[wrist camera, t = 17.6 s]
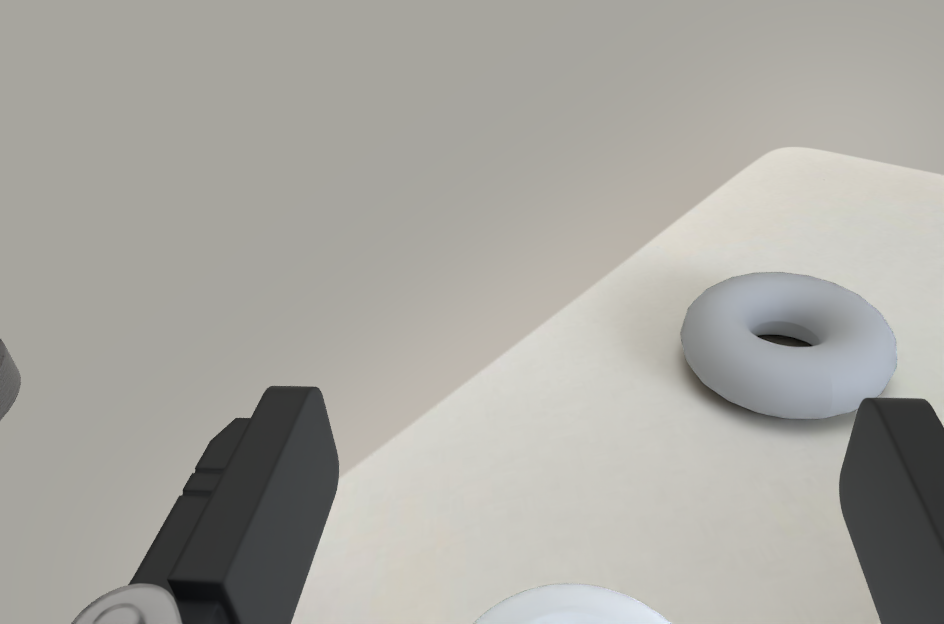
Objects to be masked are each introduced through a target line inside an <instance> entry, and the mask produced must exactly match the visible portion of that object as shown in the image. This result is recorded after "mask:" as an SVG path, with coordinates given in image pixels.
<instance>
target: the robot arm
mask: <svg viewBox="0 0 944 624" xmlns="http://www.w3.org/2000/svg"><path fill="white" fill-rule="evenodd" d="M338 478H339V461H338V454H337V450H336V446H335V442H334V439H333V434H332V431H331V426H330V422H329V419H328V415H327V411H326V407H325V403H324V399H323V395H322V393H321V391H320V390H319V388H317V387H301V386H299V387H298V386H271V387H269V388H267V390H266V391H265V392H264V394H263V396H262V398H261V400H260V401H259V403H258V405H257V407H256V409H255V411H254V413H253V415H252V417H251V418H235V419H234V420H233V421H232V422H231V423H230V424H229V425H228V426H227V427H225V428H224V429H223V430H222V431H221V432H220V433H219V434H218V435H216V436H215V437H214V438H213V439H212V440H211V441H210V443H209V444H208V446H207V448H206V450H205V452H204V453H203V455H202V457H201V458H200V460H199V462H198V464H197V466H196V468H195V473H192V475H191V476H190V478H189V480H188V481H187V483H186V485H185V487H184V488H183V495H182V496H179V497H178V499H177V501H176V503H175V504H174V506H173V508H172V510H171V512H170V513H169V515H168V517H167V519H166V520H165V522H164V524H163V526H162V527H161V529H160V531H159V533H158V534H157V536H156V538H155V540H154V541H153V543H152V545H151V547H150V549H149V550H148V552H147V554H146V556H145V558H144V559H143V561H142V563H141V564H140V566H139V568H138V570H137V572H136V573H135V575H134V577H133V578H132V580H131V581H130V583H129V584H128V586H123V587H120V588H117V589H115V590H112V591H110V592H108V593H106V594H105V595H103V596H101V597H99V598H98V599H96V600H95V601H94V602H92V603H91V604H90V605H88V606H87V607H86V608H85V609H84V610H83V611H82V612H81V613H80V614H79V615H78V616H77V617H76V618H75V620H74V621H73V622H72V623H71V624H291V621H292V618H293V616H294V613H295V610H296V607H297V604H298V601H299V598H300V595H301V593H302V590H303V587H304V584H305V581H306V578H307V575H308V572H309V570H310V567H311V564H312V561H313V558H314V555H315V552H316V549H317V547H318V544H319V541H320V538H321V535H322V532H323V529H324V526H325V524H326V521H327V518H328V515H329V512H330V509H331V506H332V503H333V500H334V498H335V494H336V491H337V486H338ZM839 494H840V504H841V509H842V513H843V517H844V520H845V522H846V525H847V528H848V531H849V534H850V537H851V539H852V542H853V545H854V548H855V551H856V553H857V556H858V559H859V562H860V565H861V567H862V570H863V573H864V576H865V579H866V582H867V584H868V587H869V590H870V593H871V596H872V598H873V601H874V604H875V607H876V610H877V613H878V615H879V618H880V621H881V624H944V427H943V426H942V424H941V422H940V420H939V418H938V417H937V415H936V413H935V411H934V409H933V408H932V406H931V405H930V403H929V402H928V401H926V400H925V399H915V398H865V399H863V400H862V402H861V403H860V405H859V408H858V412H857V415H856V419H855V422H854V426H853V429H852V433H851V437H850V440H849V444H848V447H847V451H846V455H845V458H844V462H843V465H842V469H841V473H840V481H839Z"/></svg>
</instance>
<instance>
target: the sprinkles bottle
mask: <svg viewBox="0 0 944 624" xmlns="http://www.w3.org/2000/svg"><path fill="white" fill-rule="evenodd" d="M473 624H671V623H670V622H669V621H668V620H667V619H665V618H664V617H663V616H662V615H661V614H659V613H658V612H656V611H654V610H653V609H651V608H650V607H648V606H647V605H645V604H644V603H642V602H640V601H638V600H636V599H634V598H632V597H629V596H627V595H625V594H623V593H619V592H616V591H613V590H610V589H607V588H603V587H599V586H594V585H587V584H572V583H563V584H553V585H546V586H541V587H537V588H533V589H529V590H526V591H523V592H520V593H518V594H516V595H514V596H511V597H509V598H507V599H505V600H503V601H502V602H500V603H498V604H497V605H495V606H494V607H492V608H491V609H489V610H488V611H486V612H485V613H484V614H483V615H482V616H481V617H480V618H479V619H478V620H476V621H475V622H474V623H473Z"/></svg>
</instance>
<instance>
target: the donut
mask: <svg viewBox="0 0 944 624" xmlns="http://www.w3.org/2000/svg"><path fill="white" fill-rule="evenodd" d="M680 333H681V341H682V346H683V350H684V354H685V358H686V360H687V362H688V364H689V366H690V367H691V368H692V369H693V371H694V372H695V373H696V375H697V376H698V377H699V378H700V380H701V381H702V382H703V384H705V385H706V386H708V387H709V388H711V389H712V390H713V391H715V392H716V393H718V394H719V395H721V396H722V397H723V398H725V399H726V400H728V401H730V402H732V403H734V404H737V405H739V406H742V407H744V408H747V409H749V410H752V411H754V412H756V413H761V414H766V415H771V416H776V417H781V418H786V419H822V418H828V417H832V416H836V415H840V414H845V413H849V412H853V411H855V410H856V409H858V408H859V405H860V403H861V402H862V400H863V399H865V398H876V397H877V396H879V395H880V394H881V393H882V391H883V390H884V388H885V387H886V385H887V383H888V382H889V380H890V378H891V377H892V375H893V373H894V372H895V370H896V367H897V349H896V339H895V336H894V333H893V331H892V330H891V328H890V326H889V325H888V323H887V322H886V320H885V319H884V317H883V315H882V314H881V313H880V312H879V311H878V310H877V309H876V308H874V307H873V306H872V305H871V304H869V303H868V302H867V301H866V300H864V299H863V298H862V297H861V296H859V295H858V294H856V293H854V292H852V291H850V290H848V289H846V288H844V287H842V286H839V285H837V284H835V283H832V282H829V281H825V280H822V279H818V278H815V277H811V276H807V275H799V274H792V273H784V272H765V273H751V274H746V275H741V276H736V277H731V278H729V279H727V280H725V281H723V282H720V283H718V284H716V285H714V286H712V287H710V288H708V289H706V290H705V291H704V292H703V293H702V294H701V295H700V296H699V297H698V298H697V299H696V300H695V301H694V302H693V303H692V304H691V305H690V307H689V308H688V310H687V313H686V316H685V319H684V323H683V326H682V329H681V332H680ZM759 335H783V336H789V337H793V338H796V339H799V340H802V341H805V342H807V343H809V344H811V345H812V346H811V347H790V346H784V345H778V344H774V343H772V342H769V341H766V340H763V339H760V338H759V337H757V336H759Z"/></svg>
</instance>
